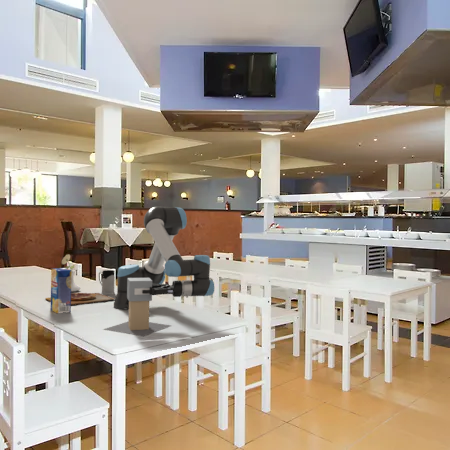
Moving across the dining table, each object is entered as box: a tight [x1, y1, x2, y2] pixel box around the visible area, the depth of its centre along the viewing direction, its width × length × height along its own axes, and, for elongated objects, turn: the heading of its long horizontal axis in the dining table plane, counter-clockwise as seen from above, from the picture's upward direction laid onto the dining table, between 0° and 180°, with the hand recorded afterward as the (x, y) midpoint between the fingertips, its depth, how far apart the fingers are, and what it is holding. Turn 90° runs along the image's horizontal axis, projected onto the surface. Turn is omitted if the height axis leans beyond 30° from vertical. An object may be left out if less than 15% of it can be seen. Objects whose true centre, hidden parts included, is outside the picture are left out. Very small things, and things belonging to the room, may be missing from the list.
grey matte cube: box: [127, 278, 153, 302], centre depth 198 cm, size 10×10×9 cm
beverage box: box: [49, 267, 73, 314], centre depth 230 cm, size 7×11×22 cm, turn 40°
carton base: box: [127, 301, 150, 330], centre depth 198 cm, size 8×8×18 cm
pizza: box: [44, 292, 116, 306], centre depth 261 cm, size 35×28×4 cm
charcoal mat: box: [102, 321, 172, 337], centre depth 198 cm, size 22×22×1 cm
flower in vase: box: [61, 254, 81, 293], centre depth 289 cm, size 13×11×25 cm
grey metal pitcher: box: [98, 269, 116, 296], centre depth 286 cm, size 9×14×15 cm, turn 53°
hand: (133, 289), depth 197 cm, fingers closed on grey matte cube, 10 cm apart
